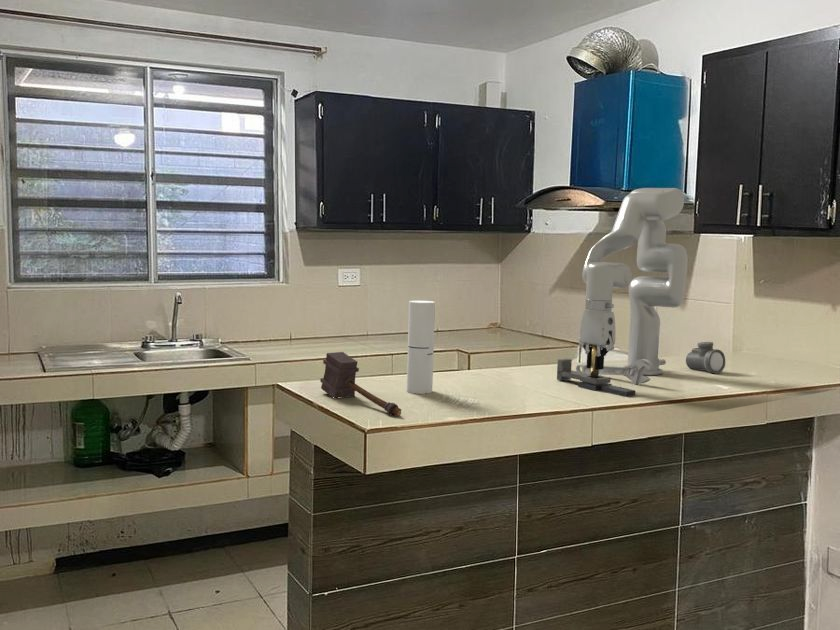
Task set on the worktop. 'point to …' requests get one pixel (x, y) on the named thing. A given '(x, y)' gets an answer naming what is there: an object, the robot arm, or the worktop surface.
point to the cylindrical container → (420, 346)
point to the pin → (593, 361)
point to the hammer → (348, 381)
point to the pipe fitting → (706, 358)
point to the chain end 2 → (607, 388)
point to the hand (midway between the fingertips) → (594, 368)
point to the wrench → (624, 370)
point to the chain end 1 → (577, 373)
